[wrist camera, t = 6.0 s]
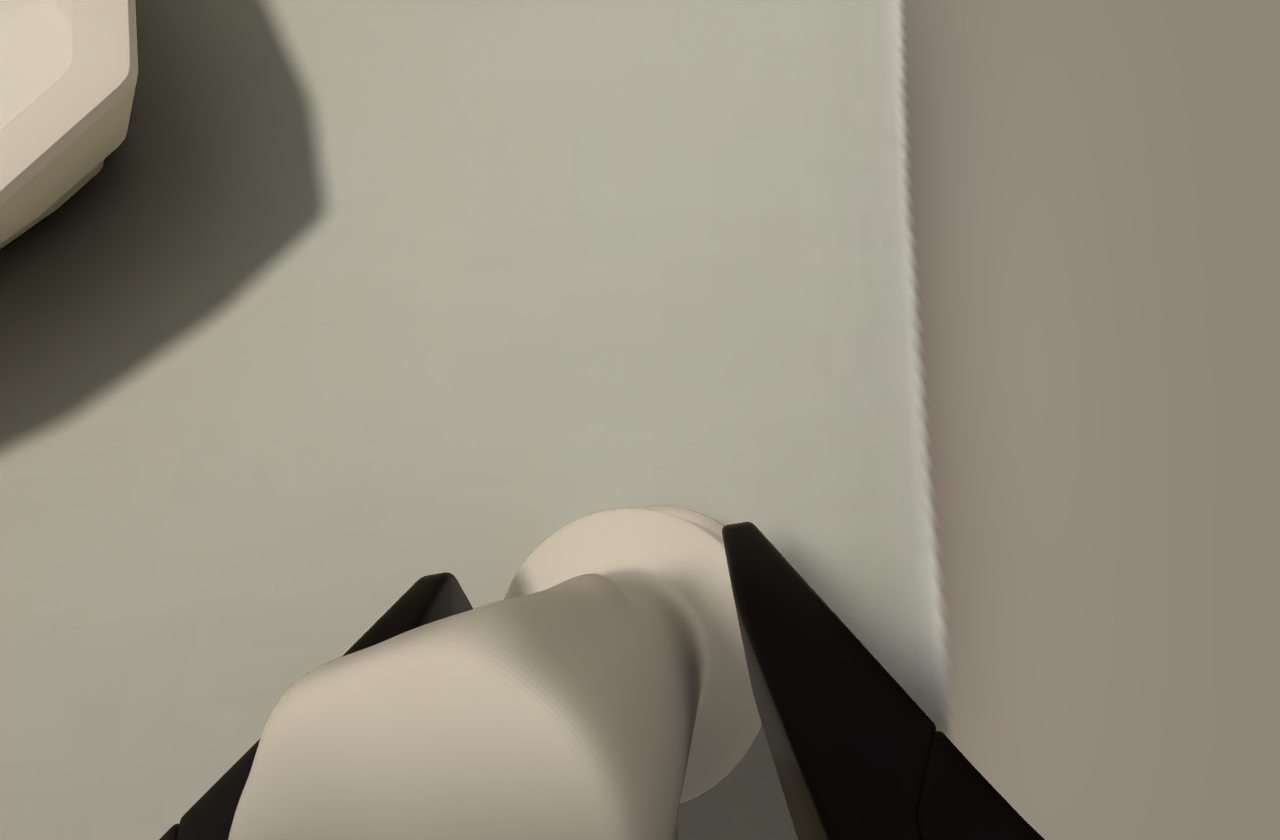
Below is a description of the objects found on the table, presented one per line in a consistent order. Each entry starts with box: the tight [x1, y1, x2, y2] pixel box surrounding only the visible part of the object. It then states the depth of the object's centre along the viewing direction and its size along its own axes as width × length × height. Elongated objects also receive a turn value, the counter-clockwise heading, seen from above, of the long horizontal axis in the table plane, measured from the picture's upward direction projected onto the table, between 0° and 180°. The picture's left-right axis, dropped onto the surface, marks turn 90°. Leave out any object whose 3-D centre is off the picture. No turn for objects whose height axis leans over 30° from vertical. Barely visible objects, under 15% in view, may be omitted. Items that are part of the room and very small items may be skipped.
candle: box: [228, 506, 762, 840], centre depth 8 cm, size 5×5×12 cm
